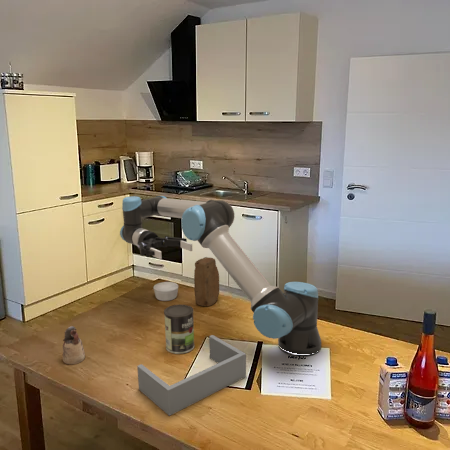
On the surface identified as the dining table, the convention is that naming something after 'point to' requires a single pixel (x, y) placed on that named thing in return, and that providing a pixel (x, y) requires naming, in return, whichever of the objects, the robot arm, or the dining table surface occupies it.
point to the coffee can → (179, 329)
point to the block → (206, 281)
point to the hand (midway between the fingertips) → (176, 251)
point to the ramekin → (166, 291)
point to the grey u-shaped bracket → (195, 379)
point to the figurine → (72, 347)
